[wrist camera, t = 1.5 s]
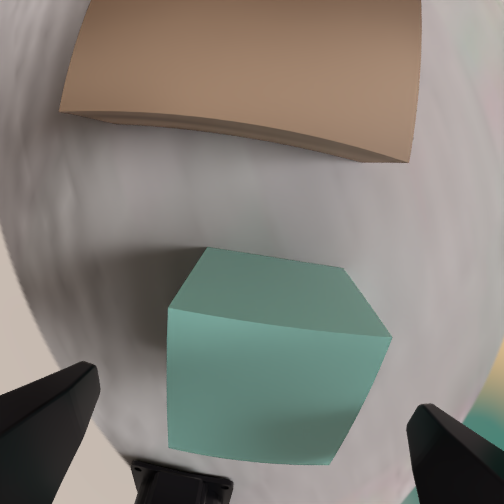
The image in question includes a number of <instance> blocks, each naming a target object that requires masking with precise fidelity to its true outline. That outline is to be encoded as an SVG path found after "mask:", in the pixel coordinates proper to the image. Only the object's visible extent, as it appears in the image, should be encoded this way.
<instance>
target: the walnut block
mask: <svg viewBox="0 0 504 504" xmlns="http://www.w3.org/2000/svg"><path fill="white" fill-rule="evenodd" d="M421 34H422V17H421V0H91V2H90V4H89V7H88V9H87V12H86V15H85V17H84V20H83V23H82V26H81V29H80V32H79V34H78V38H77V41H76V44H75V47H74V50H73V54H72V57H71V61H70V64H69V68H68V72H67V76H66V80H65V84H64V89H63V93H62V98H61V103H60V108H59V112H62V113H68V114H73V115H78V116H82V117H87V118H92V119H96V120H101V121H105V122H109V123H114V124H125V125H142V126H155V127H167V128H178V129H187V130H196V131H204V132H212V133H219V134H226V135H233V136H240V137H246V138H252V139H258V140H263V141H269V142H274V143H280V144H285V145H290V146H295V147H299V148H304V149H309V150H313V151H318V152H322V153H326V154H330V155H335V156H339V157H343V158H347V159H350V160H354V161H358V162H362V163H409V159H410V153H411V147H412V141H413V134H414V127H415V119H416V111H417V102H418V91H419V79H420V64H421Z"/></svg>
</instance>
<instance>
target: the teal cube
mask: <svg viewBox="0 0 504 504" xmlns="http://www.w3.org/2000/svg"><path fill="white" fill-rule="evenodd" d="M391 340H392V336H391V335H390V333H389V332H388V330H387V329H386V327H385V326H384V325H383V323H382V322H381V320H380V319H379V317H378V316H377V315H376V313H375V312H374V310H373V309H372V307H371V306H370V305H369V303H368V302H367V300H366V299H365V298H364V296H363V295H362V293H361V292H360V291H359V289H358V288H357V287H356V285H355V284H354V282H353V281H352V280H351V278H350V277H349V276H348V274H347V273H346V272H345V270H344V269H343V268H338V267H332V266H326V265H319V264H313V263H306V262H300V261H294V260H287V259H281V258H274V257H268V256H262V255H255V254H249V253H242V252H236V251H230V250H223V249H217V248H211V247H207V248H206V250H205V251H204V253H203V254H202V256H201V257H200V259H199V261H198V262H197V264H196V265H195V267H194V268H193V270H192V271H191V273H190V274H189V276H188V277H187V279H186V280H185V282H184V284H183V285H182V287H181V288H180V290H179V291H178V293H177V294H176V296H175V298H174V299H173V301H172V302H171V304H170V305H169V307H168V323H167V422H168V445H169V448H171V449H176V450H181V451H185V452H190V453H195V454H201V455H206V456H212V457H219V458H225V459H233V460H241V461H250V462H260V463H272V464H290V465H330V463H331V461H332V460H333V458H334V456H335V455H336V453H337V451H338V450H339V448H340V446H341V444H342V443H343V441H344V439H345V437H346V435H347V434H348V432H349V430H350V428H351V426H352V424H353V423H354V421H355V419H356V417H357V415H358V413H359V411H360V409H361V407H362V405H363V403H364V401H365V399H366V397H367V395H368V393H369V391H370V389H371V386H372V384H373V382H374V380H375V378H376V375H377V373H378V371H379V369H380V366H381V364H382V362H383V359H384V357H385V355H386V352H387V350H388V347H389V345H390V342H391Z"/></svg>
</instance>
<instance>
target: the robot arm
mask: <svg viewBox="0 0 504 504" xmlns="http://www.w3.org/2000/svg"><path fill="white" fill-rule="evenodd" d="M99 395H100V382H99V376H98V370H97V367H96V366H95V365H94V364H91V363H88V362H85V361H81V362H79V363H76V364H74V365H72V366H69V367H67V368H65V369H62V370H60V371H58V372H56V373H53V374H51V375H48V376H46V377H44V378H41V379H39V380H36V381H34V382H32V383H30V384H27V385H24V386H22V387H20V388H17V389H15V390H12V391H10V392H7V393H5V394H2V395H0V504H52V502H53V500H54V498H55V495H56V493H57V491H58V489H59V487H60V484H61V482H62V480H63V478H64V476H65V474H66V472H67V470H68V468H69V466H70V464H71V461H72V460H73V457H74V456H75V454H76V452H77V450H78V448H79V446H80V444H81V441H82V439H83V437H84V434H85V432H86V429H87V427H88V424H89V421H90V419H91V416H92V413H93V411H94V408H95V405H96V403H97V400H98V398H99ZM406 431H407V437H408V444H409V450H410V457H411V465H412V471H413V476H414V480H415V484H416V489H417V493H418V497H419V502H420V504H504V451H503V450H501V449H500V448H498V447H497V446H495V445H494V444H492V443H490V442H489V441H487V440H486V439H484V438H483V437H481V436H480V435H478V434H477V433H475V432H474V431H472V430H471V429H469V428H468V427H466V426H465V425H463V424H462V423H460V422H459V421H457V420H456V419H454V418H453V417H451V416H450V415H448V414H447V413H445V412H444V411H442V410H441V409H439V408H438V407H436V406H435V405H433V404H430V403H429V404H421V405H419V406H418V407H417V409H416V410H415V412H414V414H413V415H412V417H411V419H410V420H409V422H408V424H407V428H406ZM131 471H132V474H133V478H134V482H135V485H136V489H137V491H138V494H137V497H136V500H135V503H134V504H229V502H230V498H231V495H232V491H233V485H234V484H233V482H232V481H230V480H227V479H220V478H213V477H207V476H201V475H195V474H190V473H185V472H180V471H176V470H171V469H167V468H163V467H159V466H155V465H151V464H147V463H144V462H140V461H133V462H132V464H131Z"/></svg>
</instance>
